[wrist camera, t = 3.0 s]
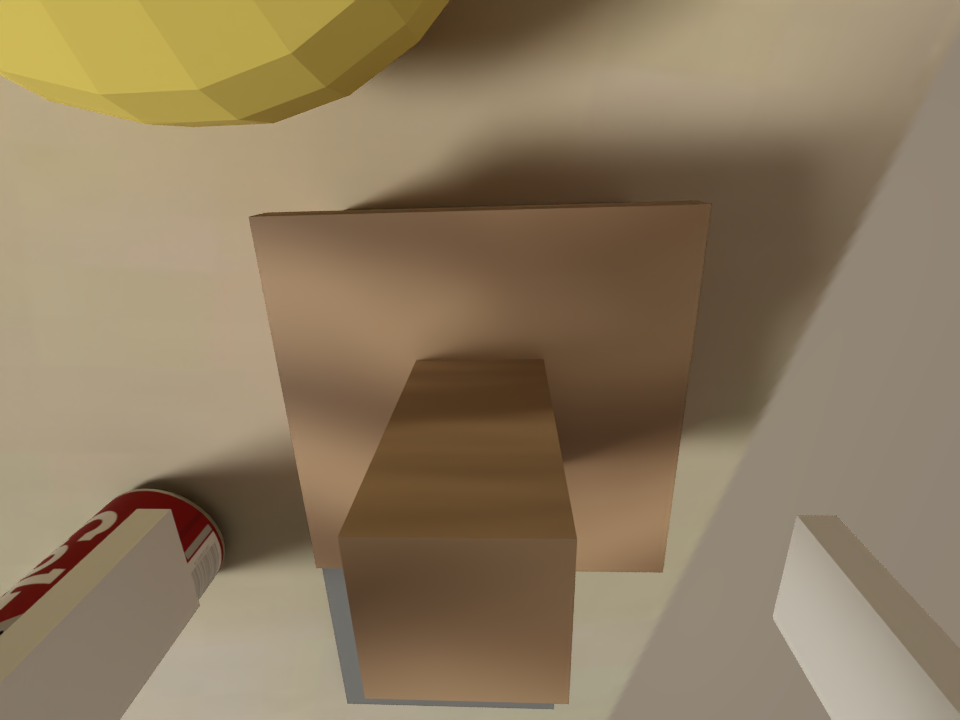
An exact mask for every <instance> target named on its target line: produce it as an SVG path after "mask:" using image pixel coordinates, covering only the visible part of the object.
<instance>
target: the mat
mask: <svg viewBox="0 0 960 720" xmlns="http://www.w3.org/2000/svg"><path fill="white" fill-rule="evenodd" d="M322 570H323V575H324V580H325V586H326V591H327V596H328V602H329V607H330V612H331V618H332V623H333V628H334V634H335V639H336V644H337V650H338V655H339V660H340V666H341V671H342V676H343V682H344V687H345V692H346V698H347V703H348V704H382V705H418V706H455V707H491V708H528V709H554V704H550V703H513V702H476V701H438V700H401V699H365V696H364V690H363V684H362V678H361V672H360V666H359V661H358V655H357V649H356V643H355V637H354V631H353V625H352V619H351V613H350V607H349V601H348V595H347V589H346V583H345V577H344V571H343V568H322Z"/></svg>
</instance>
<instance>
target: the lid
mask: <svg viewBox="0 0 960 720" xmlns="http://www.w3.org/2000/svg"><path fill="white" fill-rule="evenodd" d="M711 207H712V204H709V203H704V202H700V201H671V202H634V203H598V204H562V205H526V206H489V207H453V208H417V209H381V210H344V211H308V212H272V213H263V214H259V215H254V216H250V217H249V221H250V226H251V231H252V237H253V242H254V247H255V252H256V257H257V262H258V268H259V273H260V278H261V283H262V288H263V294H264V299H265V304H266V309H267V314H268V319H269V325H270V330H271V335H272V340H273V345H274V351H275V356H276V361H277V366H278V371H279V376H280V382H281V387H282V392H283V397H284V402H285V408H286V413H287V418H288V423H289V428H290V433H291V439H292V444H293V449H294V454H295V459H296V465H297V470H298V475H299V480H300V485H301V490H302V496H303V501H304V506H305V511H306V516H307V522H308V527H309V532H310V537H311V542H312V547H313V553H314V558H315V563H316V568H343V571H344V577H345V583H346V589H347V595H348V601H349V607H350V613H351V619H352V625H353V631H354V637H355V643H356V649H357V655H358V661H359V666H360V672H361V678H362V684H363V690H364V696H365V699H401V700H438V701H476V702H513V703H550V704H569V690H570V671H571V651H572V631H573V612H574V592H575V572H576V571H586V572H663V567H664V559H665V552H666V544H667V537H668V529H669V522H670V514H671V507H672V499H673V492H674V484H675V477H676V469H677V462H678V454H679V447H680V439H681V432H682V424H683V417H684V409H685V402H686V394H687V387H688V379H689V372H690V364H691V357H692V349H693V342H694V334H695V327H696V319H697V312H698V304H699V297H700V289H701V282H702V274H703V267H704V259H705V252H706V244H707V237H708V229H709V222H710V214H711Z"/></svg>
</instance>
